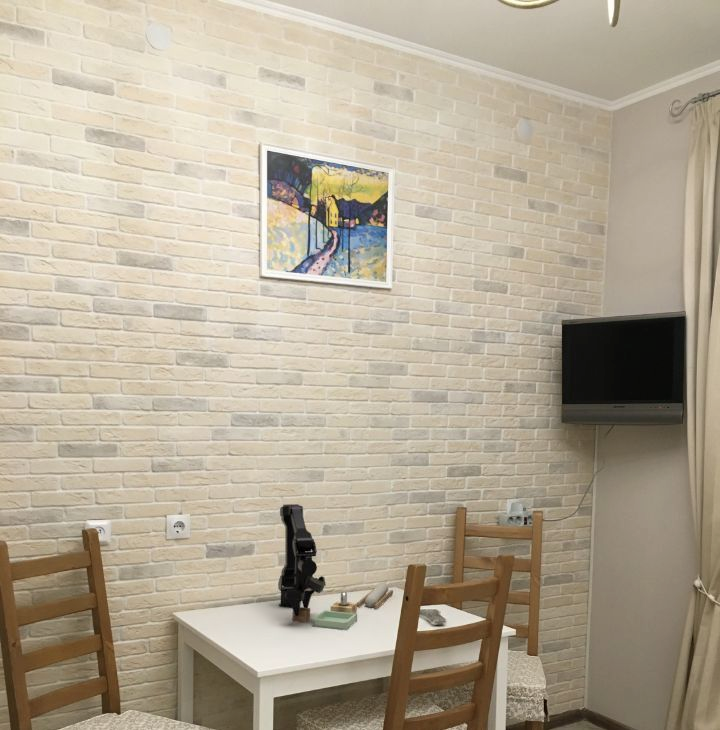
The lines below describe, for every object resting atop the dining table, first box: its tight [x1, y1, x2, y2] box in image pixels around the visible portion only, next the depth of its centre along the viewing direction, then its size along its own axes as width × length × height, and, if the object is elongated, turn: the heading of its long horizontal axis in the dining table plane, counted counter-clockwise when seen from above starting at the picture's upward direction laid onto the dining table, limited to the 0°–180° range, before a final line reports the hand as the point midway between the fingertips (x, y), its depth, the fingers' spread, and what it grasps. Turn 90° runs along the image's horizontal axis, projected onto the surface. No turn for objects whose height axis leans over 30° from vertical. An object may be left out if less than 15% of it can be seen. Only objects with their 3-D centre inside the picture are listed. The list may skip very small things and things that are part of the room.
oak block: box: [330, 600, 358, 614], centre depth 300 cm, size 8×8×4 cm
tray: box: [311, 609, 358, 631], centre depth 286 cm, size 13×13×2 cm
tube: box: [364, 581, 389, 608], centre depth 321 cm, size 5×5×25 cm
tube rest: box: [356, 588, 394, 610], centre depth 321 cm, size 8×26×2 cm, turn 163°
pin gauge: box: [340, 591, 348, 606], centre depth 300 cm, size 2×2×8 cm
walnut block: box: [292, 606, 311, 623], centre depth 290 cm, size 5×5×4 cm
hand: (301, 612), depth 290 cm, fingers open, 9 cm apart
